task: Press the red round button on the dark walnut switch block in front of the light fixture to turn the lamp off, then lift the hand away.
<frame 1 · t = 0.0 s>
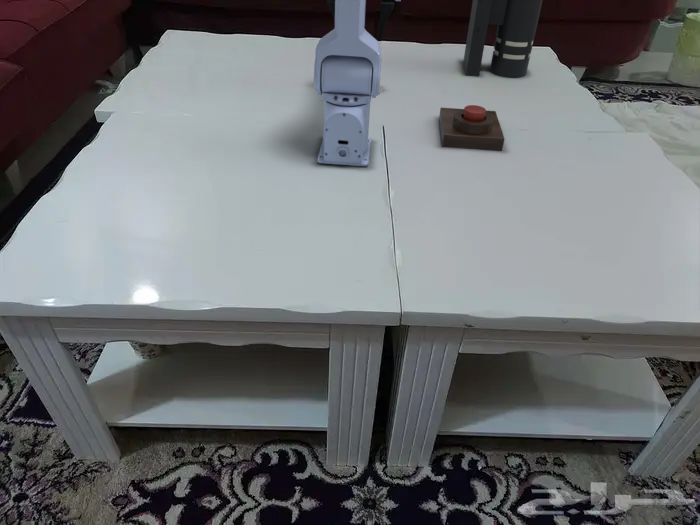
hand: (359, 38, 110), 10 cm above the table, tool pointing down, fingers open, 7 cm apart
light fixture: (495, 71, 129), on the table
switch block: (468, 134, 101), on the table
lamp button: (474, 113, 97), point 4 cm above the table, slide at 0.1 cm
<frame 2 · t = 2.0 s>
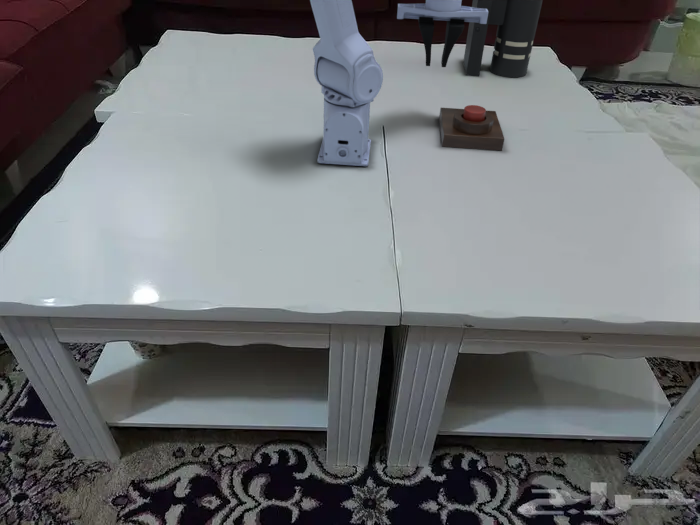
hand: (435, 64, 98), 10 cm above the table, tool pointing down, fingers closed
nothing on the table moved.
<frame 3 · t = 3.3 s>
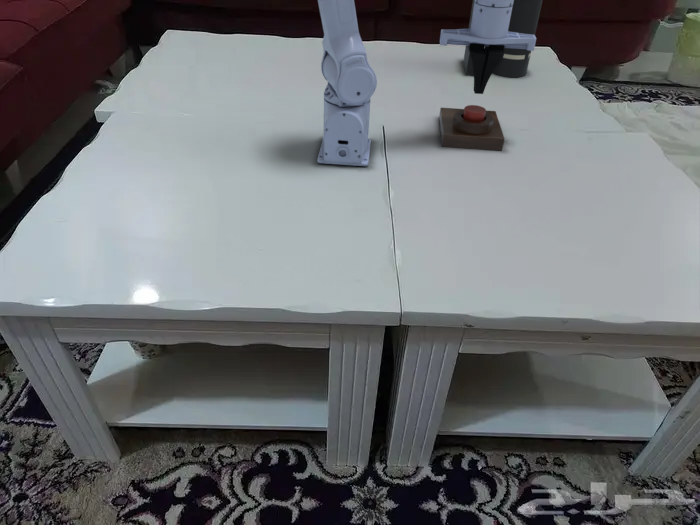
hand: (478, 91, 94), 8 cm above the table, tool pointing down, fingers closed
nothing on the table moved.
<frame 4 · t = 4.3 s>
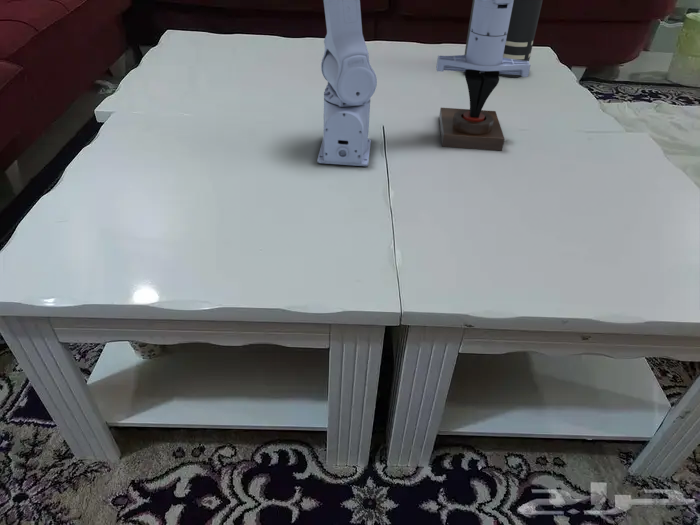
hand: (474, 115, 97), 4 cm above the table, tool pointing down, fingers closed, pressing on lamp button
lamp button: (473, 120, 97), point 3 cm above the table, slide at -1.0 cm, touching gripper
everything else where it was.
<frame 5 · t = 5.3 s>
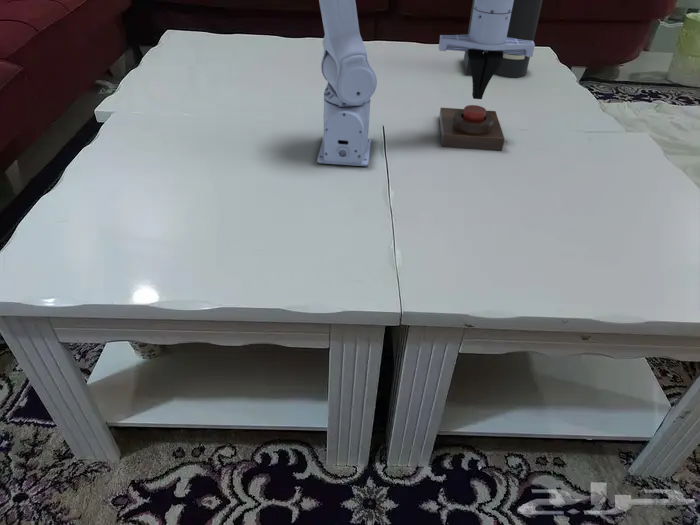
hand: (477, 97, 95), 7 cm above the table, tool pointing down, fingers closed
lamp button: (474, 113, 97), point 4 cm above the table, slide at 0.1 cm
everything else where it was.
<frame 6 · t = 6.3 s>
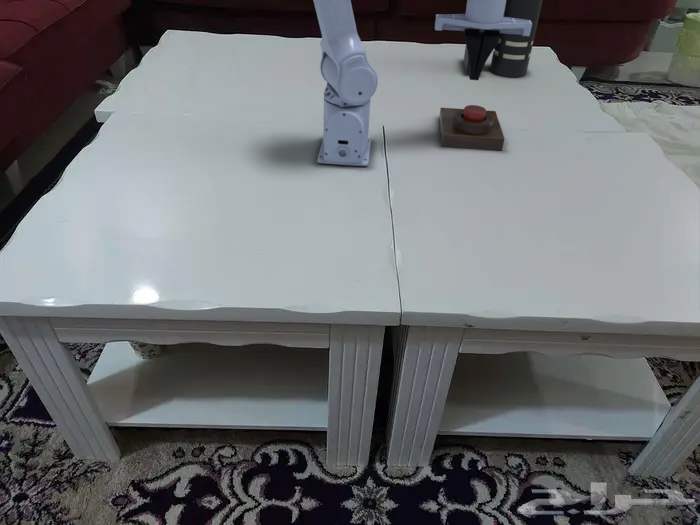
hand: (473, 78, 93), 10 cm above the table, tool pointing down, fingers closed
nothing on the table moved.
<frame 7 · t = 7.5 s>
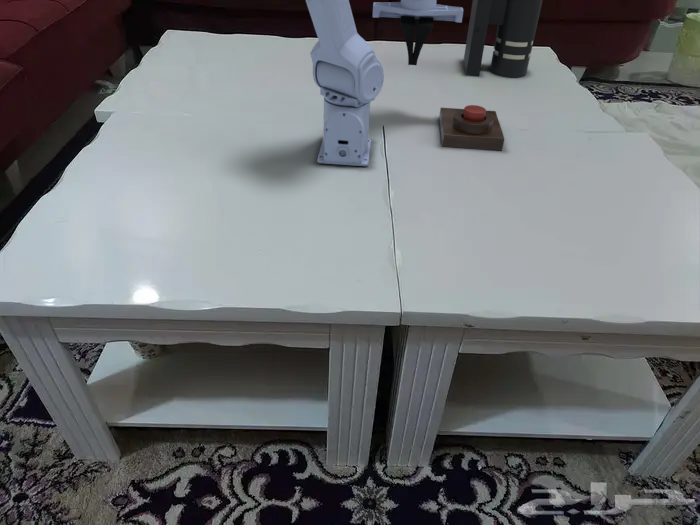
hand: (412, 63, 98), 10 cm above the table, tool pointing down, fingers closed
nothing on the table moved.
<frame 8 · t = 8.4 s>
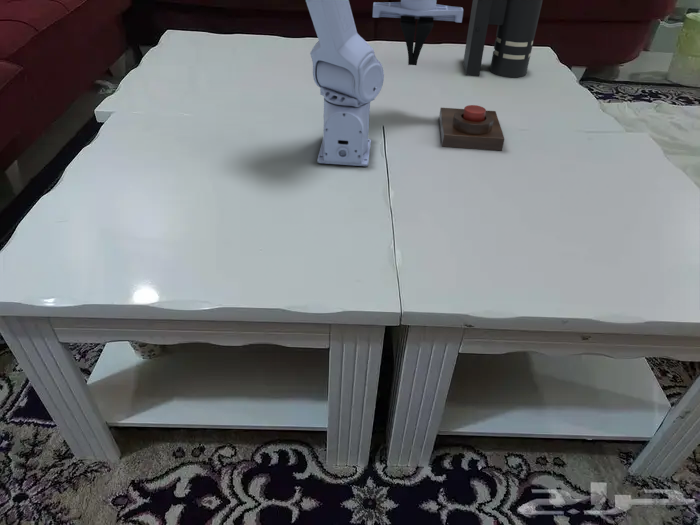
hand: (412, 63, 98), 10 cm above the table, tool pointing down, fingers closed
nothing on the table moved.
at the end: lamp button pushed in 1.2 cm at the most during the clip, back to where it started at the end; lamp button slide at 0.1 cm; light fixture moved 0.2 cm from its start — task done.
